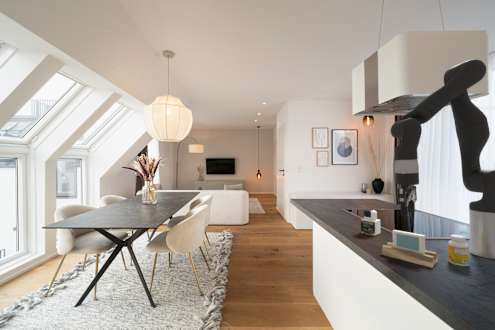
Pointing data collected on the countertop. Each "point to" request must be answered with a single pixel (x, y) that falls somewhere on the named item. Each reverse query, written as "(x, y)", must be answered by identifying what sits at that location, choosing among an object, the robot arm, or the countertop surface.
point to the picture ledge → (410, 255)
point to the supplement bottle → (458, 250)
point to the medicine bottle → (370, 223)
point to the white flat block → (409, 241)
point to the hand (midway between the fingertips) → (407, 214)
